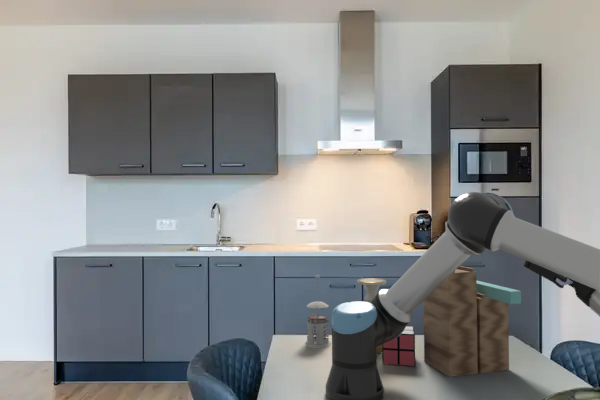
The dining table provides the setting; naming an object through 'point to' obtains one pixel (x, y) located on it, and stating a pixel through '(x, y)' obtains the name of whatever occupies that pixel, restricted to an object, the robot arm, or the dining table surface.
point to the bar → (499, 293)
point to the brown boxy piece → (465, 328)
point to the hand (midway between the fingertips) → (539, 243)
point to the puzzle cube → (400, 349)
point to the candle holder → (372, 293)
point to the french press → (317, 325)
